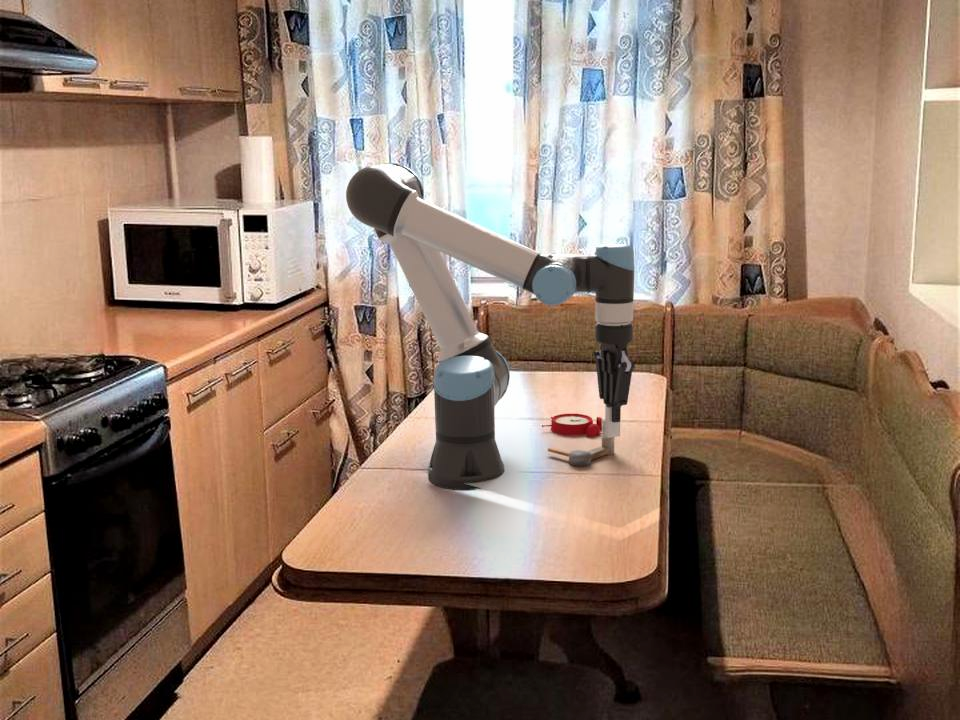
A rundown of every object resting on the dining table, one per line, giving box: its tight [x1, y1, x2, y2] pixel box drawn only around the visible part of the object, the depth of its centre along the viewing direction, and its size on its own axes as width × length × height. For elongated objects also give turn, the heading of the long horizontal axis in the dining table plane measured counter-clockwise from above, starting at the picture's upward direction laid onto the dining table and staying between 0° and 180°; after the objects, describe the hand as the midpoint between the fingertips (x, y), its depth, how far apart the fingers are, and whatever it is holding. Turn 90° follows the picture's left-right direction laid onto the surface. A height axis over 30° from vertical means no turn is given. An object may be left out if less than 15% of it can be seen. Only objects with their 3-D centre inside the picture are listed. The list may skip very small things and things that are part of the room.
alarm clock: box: [541, 413, 604, 438], centre depth 228 cm, size 10×6×15 cm
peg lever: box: [547, 418, 616, 468], centre depth 209 cm, size 12×10×7 cm
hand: (612, 435), depth 209 cm, fingers closed
